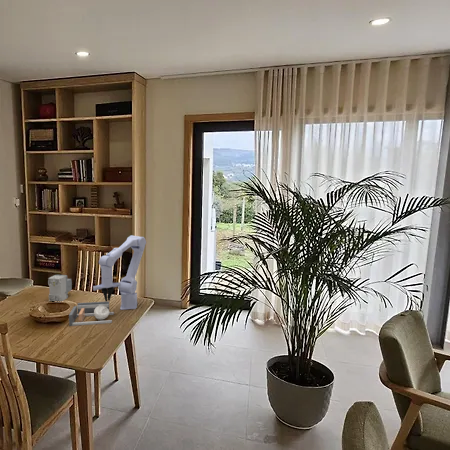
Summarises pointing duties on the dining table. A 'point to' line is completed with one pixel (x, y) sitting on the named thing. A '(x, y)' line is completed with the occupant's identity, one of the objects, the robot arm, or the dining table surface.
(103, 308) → the white rounded piece
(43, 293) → the dining table surface
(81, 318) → the tan rectangular box
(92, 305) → the rail mount
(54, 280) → the circuit breaker
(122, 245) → the robot arm
